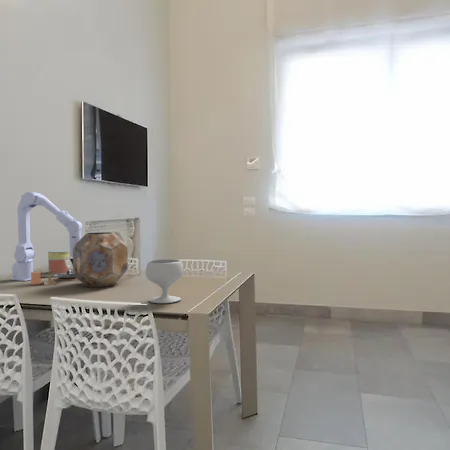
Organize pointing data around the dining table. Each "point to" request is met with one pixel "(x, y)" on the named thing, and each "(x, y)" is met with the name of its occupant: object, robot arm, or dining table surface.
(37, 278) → the hook rod
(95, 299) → the dining table surface
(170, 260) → the chalice
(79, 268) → the planter
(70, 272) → the handwheel
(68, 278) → the wheel mount
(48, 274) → the eye post
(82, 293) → the dining table surface
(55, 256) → the canned food
